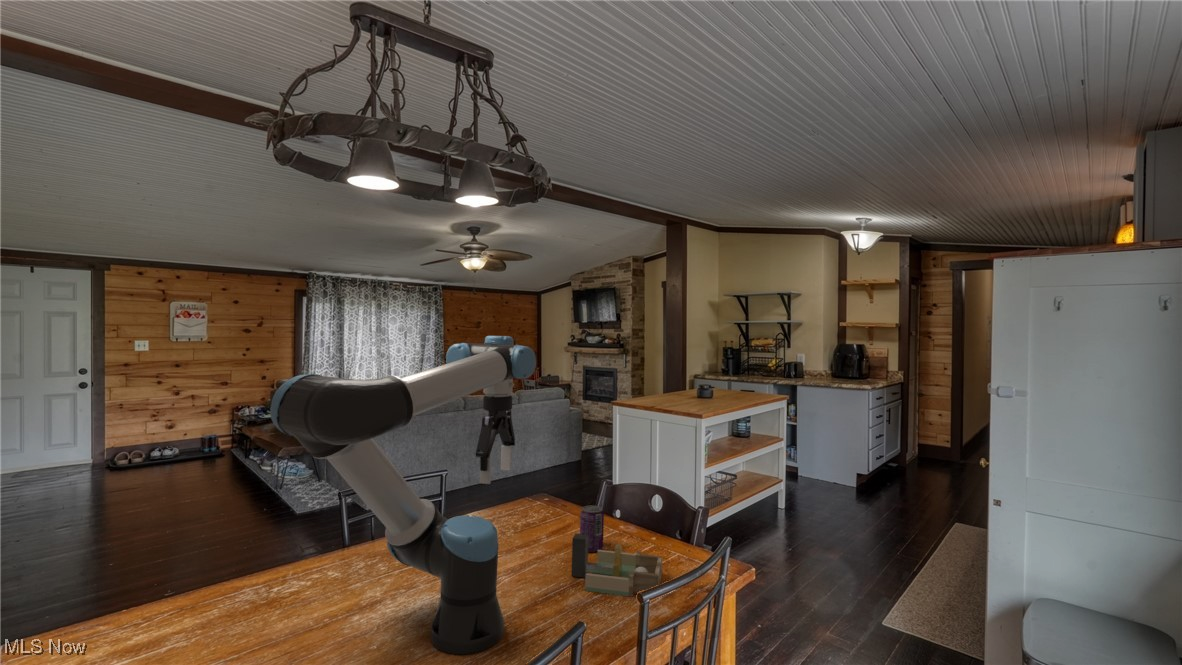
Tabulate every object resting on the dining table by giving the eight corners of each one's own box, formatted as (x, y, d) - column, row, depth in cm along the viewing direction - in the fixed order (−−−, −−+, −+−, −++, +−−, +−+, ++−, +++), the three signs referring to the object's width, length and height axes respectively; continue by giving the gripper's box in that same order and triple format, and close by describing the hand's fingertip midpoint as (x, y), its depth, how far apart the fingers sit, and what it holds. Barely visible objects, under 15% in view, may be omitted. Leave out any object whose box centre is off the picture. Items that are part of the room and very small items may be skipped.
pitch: (628, 596, 131) (629, 580, 131) (585, 590, 133) (585, 574, 133) (636, 568, 147) (637, 554, 147) (597, 564, 149) (598, 549, 149)
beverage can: (603, 544, 163) (604, 505, 163) (602, 554, 156) (603, 513, 156) (580, 543, 163) (581, 504, 163) (578, 552, 156) (579, 511, 156)
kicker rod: (618, 584, 137) (619, 545, 137) (570, 578, 139) (571, 539, 139) (622, 574, 142) (622, 536, 142) (575, 568, 145) (576, 531, 145)
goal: (657, 600, 129) (657, 579, 129) (628, 596, 131) (629, 576, 131) (662, 571, 145) (662, 553, 145) (636, 568, 147) (637, 550, 147)
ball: (630, 571, 137) (634, 587, 137) (645, 569, 136) (649, 585, 136) (632, 565, 141) (636, 580, 141) (647, 563, 140) (651, 578, 140)
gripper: (492, 401, 126) (489, 490, 126) (527, 390, 150) (525, 466, 150) (463, 399, 127) (460, 488, 127) (502, 389, 152) (500, 463, 152)
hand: (495, 476), depth 139 cm, fingers open, 13 cm apart
